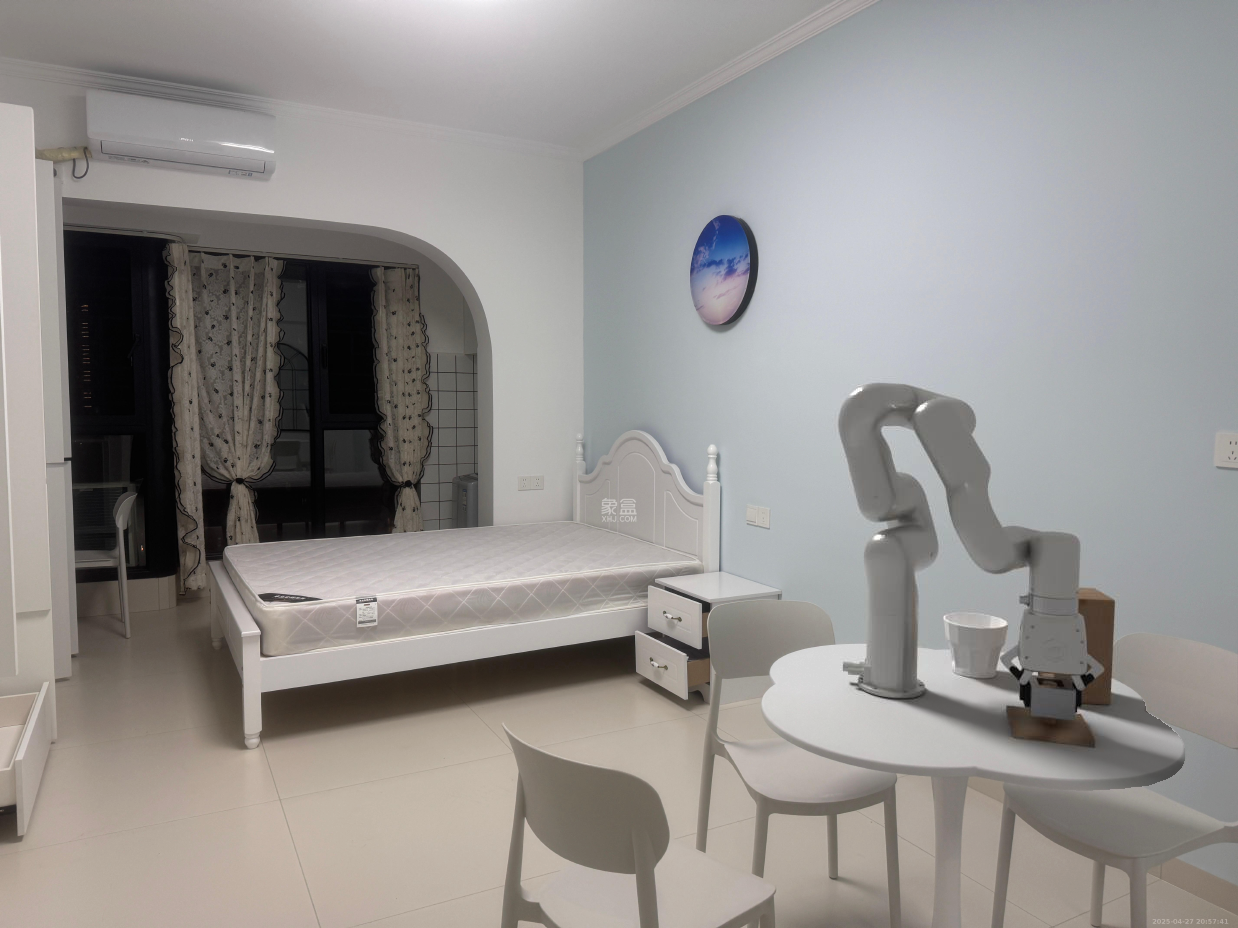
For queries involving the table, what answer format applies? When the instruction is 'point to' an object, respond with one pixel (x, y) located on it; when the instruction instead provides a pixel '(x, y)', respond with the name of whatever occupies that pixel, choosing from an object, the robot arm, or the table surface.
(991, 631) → the cup
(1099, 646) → the wooden block
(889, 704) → the table surface
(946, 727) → the table surface
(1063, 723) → the post base
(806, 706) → the table surface
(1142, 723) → the table surface
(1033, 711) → the collar
